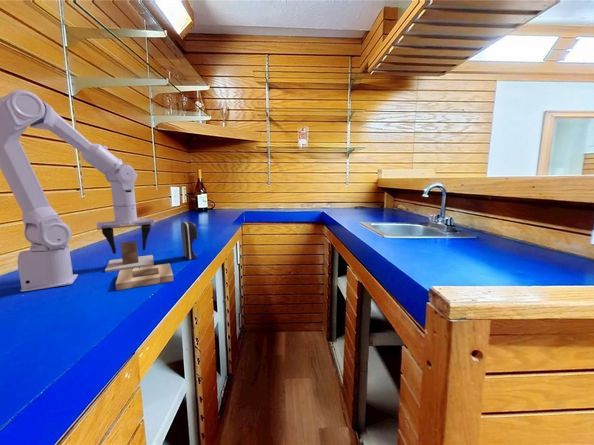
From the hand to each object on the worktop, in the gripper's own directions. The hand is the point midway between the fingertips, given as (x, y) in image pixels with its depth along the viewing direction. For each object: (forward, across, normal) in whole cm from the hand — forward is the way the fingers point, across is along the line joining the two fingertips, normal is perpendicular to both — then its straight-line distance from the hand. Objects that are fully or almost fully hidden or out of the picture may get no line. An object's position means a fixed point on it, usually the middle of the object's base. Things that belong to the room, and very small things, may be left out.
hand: (129, 251), depth 88 cm
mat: (+4, 0, 0) cm, 4 cm away
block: (+3, 0, 0) cm, 3 cm away
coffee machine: (+4, +17, -3) cm, 18 cm away
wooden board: (+4, +3, -18) cm, 19 cm away
